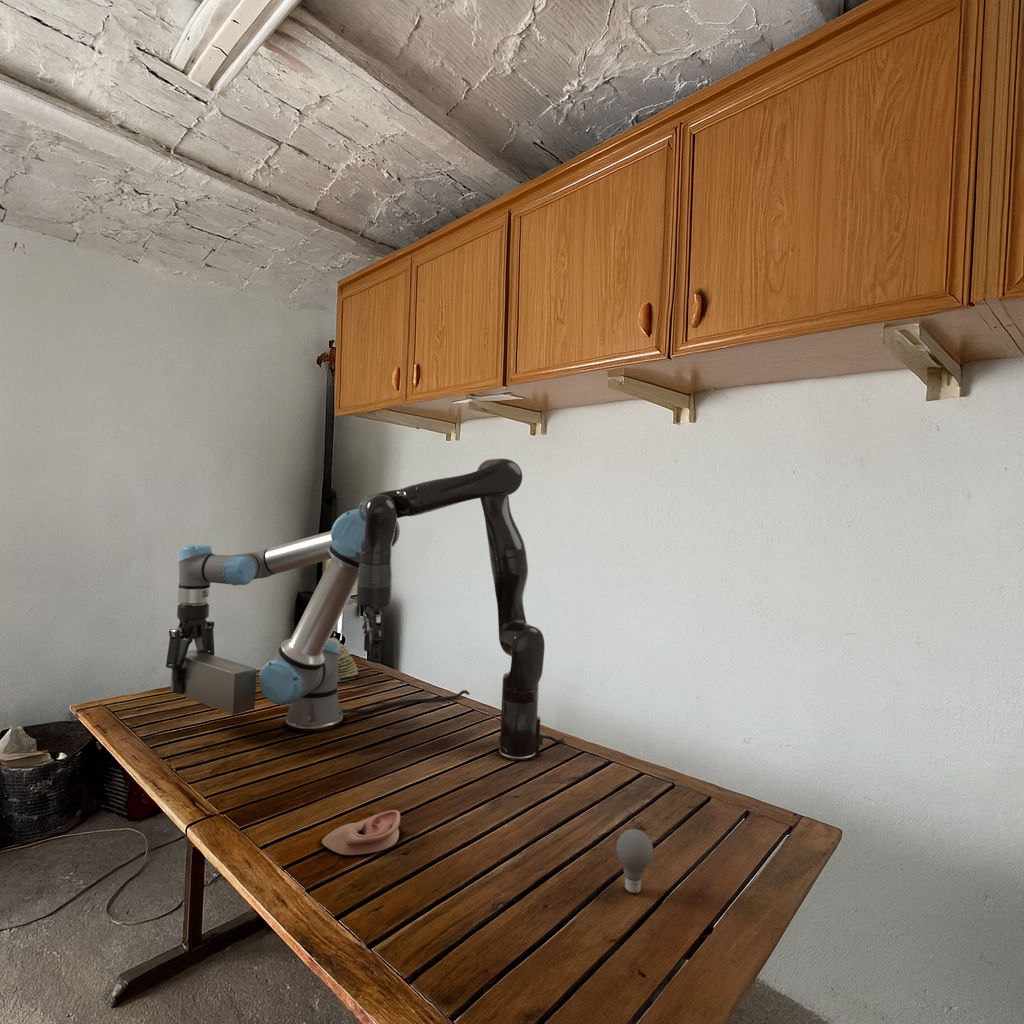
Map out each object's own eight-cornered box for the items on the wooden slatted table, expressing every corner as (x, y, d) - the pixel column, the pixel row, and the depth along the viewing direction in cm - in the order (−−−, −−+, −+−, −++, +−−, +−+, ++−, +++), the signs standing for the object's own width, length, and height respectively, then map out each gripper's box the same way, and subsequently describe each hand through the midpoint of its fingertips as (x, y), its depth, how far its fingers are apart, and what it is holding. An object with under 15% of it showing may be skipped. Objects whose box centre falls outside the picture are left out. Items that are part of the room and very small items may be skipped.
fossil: (298, 680, 214) (300, 636, 214) (348, 672, 226) (350, 630, 226) (309, 687, 207) (311, 641, 207) (360, 678, 220) (362, 635, 220)
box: (170, 691, 168) (172, 653, 168) (192, 686, 173) (194, 649, 173) (232, 715, 154) (234, 673, 153) (254, 709, 159) (256, 668, 159)
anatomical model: (313, 828, 113) (343, 799, 125) (313, 850, 113) (342, 819, 125) (383, 839, 111) (407, 808, 122) (382, 862, 111) (406, 829, 122)
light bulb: (610, 879, 108) (613, 822, 108) (644, 879, 109) (647, 822, 109) (619, 902, 102) (622, 840, 102) (655, 901, 103) (658, 840, 103)
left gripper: (176, 610, 157) (172, 702, 158) (231, 599, 177) (228, 680, 177) (151, 607, 159) (147, 697, 160) (209, 596, 179) (205, 677, 179)
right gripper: (397, 587, 137) (394, 662, 137) (385, 579, 150) (383, 647, 150) (362, 588, 134) (359, 664, 134) (353, 579, 147) (350, 648, 147)
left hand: (189, 688), depth 169 cm, fingers closed on box, 7 cm apart
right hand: (371, 655), depth 142 cm, fingers open, 8 cm apart
